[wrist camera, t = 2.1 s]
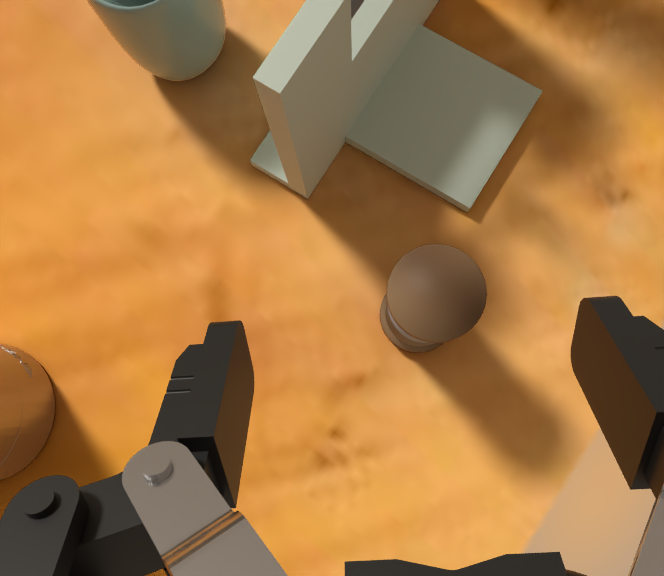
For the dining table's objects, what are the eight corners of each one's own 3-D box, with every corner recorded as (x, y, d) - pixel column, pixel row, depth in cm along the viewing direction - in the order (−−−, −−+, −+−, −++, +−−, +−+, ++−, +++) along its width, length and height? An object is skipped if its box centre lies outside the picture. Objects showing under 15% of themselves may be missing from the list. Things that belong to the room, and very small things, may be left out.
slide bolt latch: (430, 272, 40) (473, 205, 25) (252, 165, 42) (194, 44, 27) (572, 42, 42) (689, -144, 27) (398, -49, 44) (419, -270, 29)
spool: (429, 366, 39) (454, 360, 29) (365, 326, 39) (368, 307, 29) (467, 303, 39) (504, 276, 29) (404, 265, 40) (419, 226, 30)
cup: (257, 46, 43) (227, -55, 33) (180, 117, 42) (127, 35, 33) (187, -18, 44) (138, -134, 34) (111, 50, 44) (40, -49, 34)
